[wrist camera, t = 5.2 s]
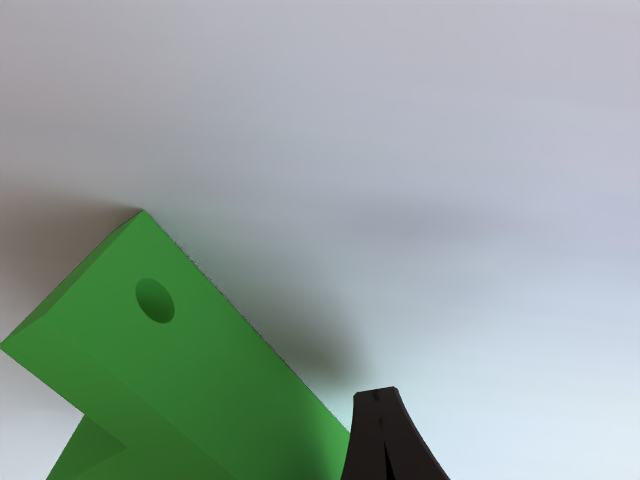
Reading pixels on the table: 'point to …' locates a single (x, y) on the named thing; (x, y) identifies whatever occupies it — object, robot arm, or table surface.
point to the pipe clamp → (169, 374)
